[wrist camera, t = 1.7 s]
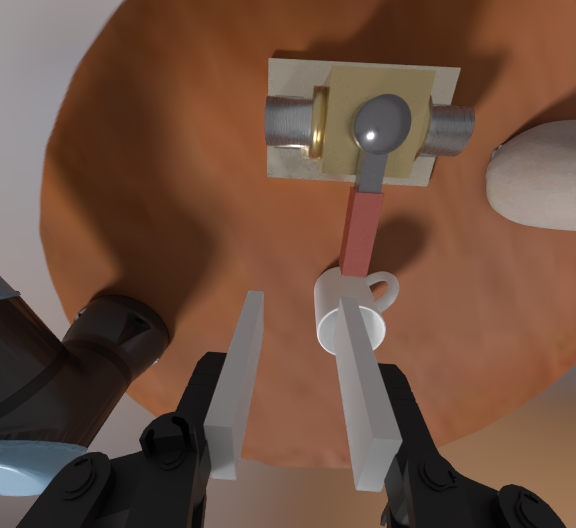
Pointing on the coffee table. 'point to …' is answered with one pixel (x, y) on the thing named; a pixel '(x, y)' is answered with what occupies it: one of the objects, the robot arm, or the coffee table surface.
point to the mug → (338, 286)
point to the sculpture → (536, 177)
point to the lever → (370, 176)
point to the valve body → (341, 108)
